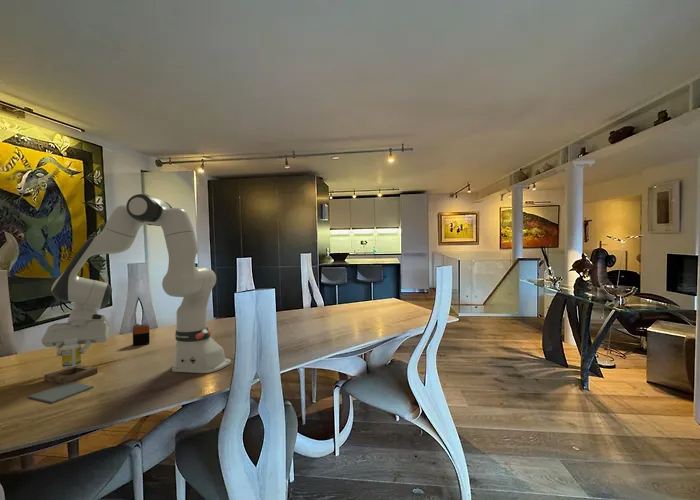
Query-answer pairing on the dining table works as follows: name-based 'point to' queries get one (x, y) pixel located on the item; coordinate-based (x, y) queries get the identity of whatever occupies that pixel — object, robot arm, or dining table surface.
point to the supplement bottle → (71, 353)
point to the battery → (141, 334)
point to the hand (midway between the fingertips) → (70, 354)
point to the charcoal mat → (60, 392)
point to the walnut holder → (62, 378)
